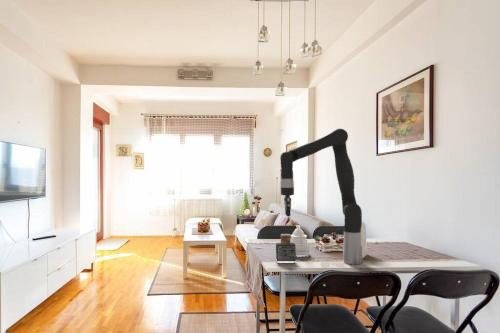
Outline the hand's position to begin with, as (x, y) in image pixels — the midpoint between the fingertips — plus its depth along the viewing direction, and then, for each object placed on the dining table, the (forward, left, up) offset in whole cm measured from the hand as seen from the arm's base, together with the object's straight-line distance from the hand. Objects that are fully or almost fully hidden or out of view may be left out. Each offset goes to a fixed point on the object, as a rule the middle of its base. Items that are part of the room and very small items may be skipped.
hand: (287, 215), depth 203 cm
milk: (-42, -16, -26) cm, 52 cm away
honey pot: (-8, -17, -26) cm, 32 cm away
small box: (+1, +1, -26) cm, 26 cm away
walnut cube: (+2, +1, -16) cm, 16 cm away
